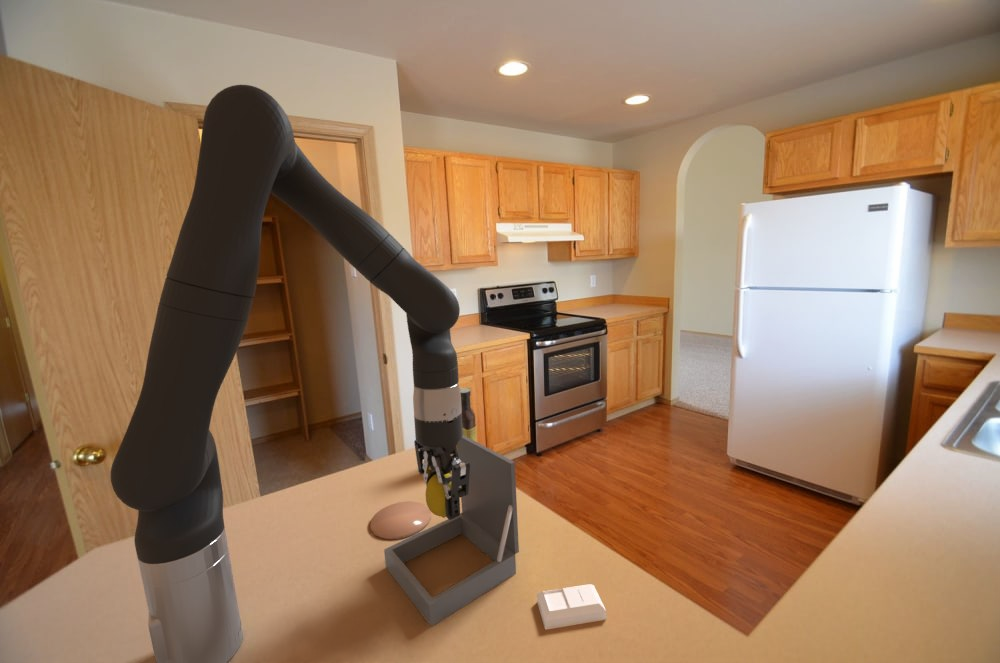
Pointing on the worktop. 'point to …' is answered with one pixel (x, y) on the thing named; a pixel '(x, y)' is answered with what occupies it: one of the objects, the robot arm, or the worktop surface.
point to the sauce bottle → (467, 416)
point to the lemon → (436, 496)
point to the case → (467, 534)
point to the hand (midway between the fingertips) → (443, 508)
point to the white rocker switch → (570, 606)
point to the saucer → (400, 520)
